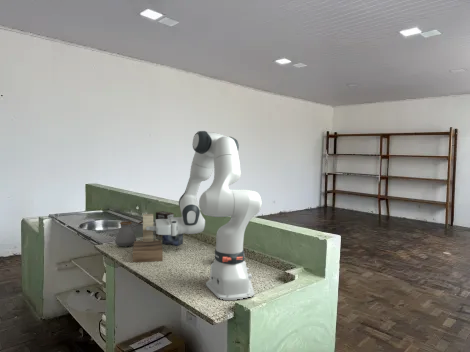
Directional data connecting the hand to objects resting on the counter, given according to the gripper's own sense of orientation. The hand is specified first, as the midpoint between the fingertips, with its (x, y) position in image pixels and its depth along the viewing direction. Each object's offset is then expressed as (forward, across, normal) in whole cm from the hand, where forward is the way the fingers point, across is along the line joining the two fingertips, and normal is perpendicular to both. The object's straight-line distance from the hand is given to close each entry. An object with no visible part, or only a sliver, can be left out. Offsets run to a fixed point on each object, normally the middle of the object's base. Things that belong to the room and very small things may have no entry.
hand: (146, 226), depth 166 cm
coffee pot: (+6, -22, +15) cm, 28 cm away
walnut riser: (-1, 0, +15) cm, 15 cm away
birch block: (-1, 0, +7) cm, 7 cm away
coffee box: (-11, -32, +15) cm, 37 cm away
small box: (-15, -19, +15) cm, 28 cm away
